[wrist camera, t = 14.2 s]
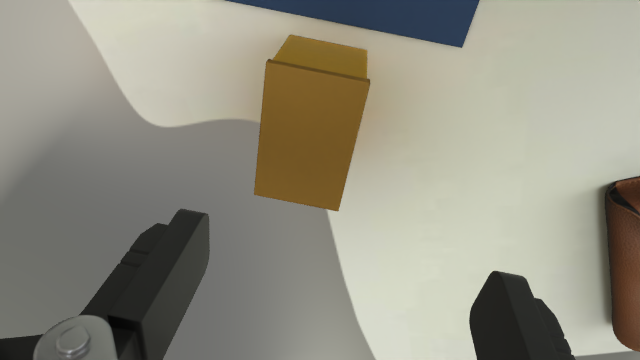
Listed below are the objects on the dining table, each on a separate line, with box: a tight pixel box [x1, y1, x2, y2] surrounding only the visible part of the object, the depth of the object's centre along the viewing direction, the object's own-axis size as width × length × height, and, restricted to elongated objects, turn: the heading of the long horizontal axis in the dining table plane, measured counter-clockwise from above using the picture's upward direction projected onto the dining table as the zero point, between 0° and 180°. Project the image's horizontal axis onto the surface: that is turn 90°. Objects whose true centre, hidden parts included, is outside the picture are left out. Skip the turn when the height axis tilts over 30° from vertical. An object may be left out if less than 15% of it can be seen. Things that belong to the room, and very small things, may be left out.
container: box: [254, 35, 370, 211], centre depth 27 cm, size 6×9×7 cm, turn 170°
